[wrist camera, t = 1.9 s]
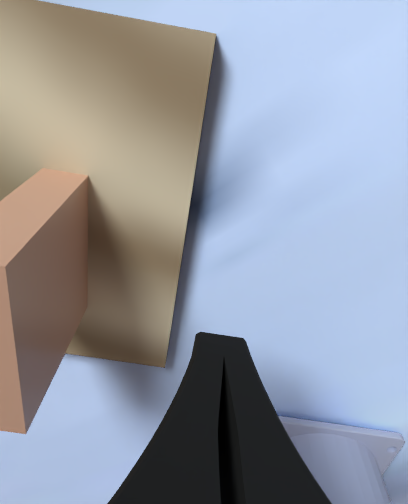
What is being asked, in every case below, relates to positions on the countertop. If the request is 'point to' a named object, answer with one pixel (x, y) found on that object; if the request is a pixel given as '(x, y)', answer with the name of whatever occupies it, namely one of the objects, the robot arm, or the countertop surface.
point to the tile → (39, 287)
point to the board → (110, 153)
